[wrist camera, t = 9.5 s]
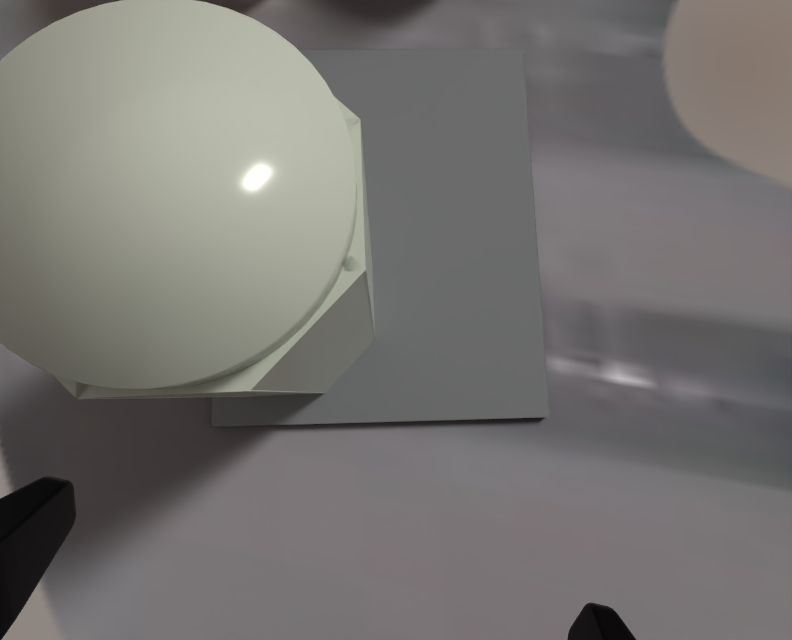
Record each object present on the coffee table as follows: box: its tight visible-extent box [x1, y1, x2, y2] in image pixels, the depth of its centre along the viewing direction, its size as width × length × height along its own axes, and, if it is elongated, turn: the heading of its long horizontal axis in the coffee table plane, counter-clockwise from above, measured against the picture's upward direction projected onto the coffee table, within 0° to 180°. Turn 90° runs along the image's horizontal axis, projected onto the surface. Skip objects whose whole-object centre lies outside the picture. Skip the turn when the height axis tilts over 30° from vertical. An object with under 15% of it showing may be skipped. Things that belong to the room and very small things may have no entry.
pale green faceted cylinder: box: [0, 0, 375, 399], centre depth 15 cm, size 7×7×12 cm
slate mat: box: [211, 49, 550, 427], centre depth 22 cm, size 17×14×1 cm
